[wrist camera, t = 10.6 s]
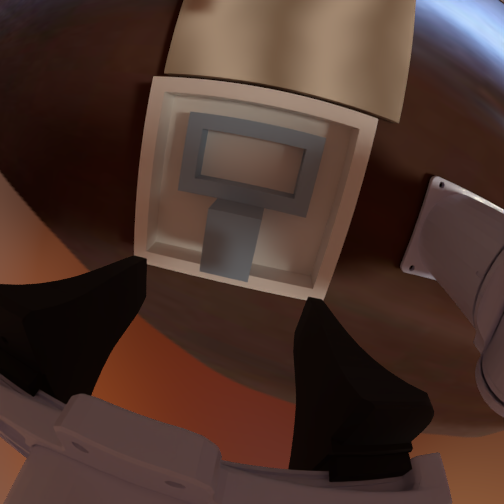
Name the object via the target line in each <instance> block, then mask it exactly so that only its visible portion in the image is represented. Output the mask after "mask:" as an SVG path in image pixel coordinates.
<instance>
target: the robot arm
mask: <svg viewBox="0 0 504 504" xmlns="http://www.w3.org/2000/svg"><path fill="white" fill-rule="evenodd" d="M440 182H442V186H441V187H439V184H440ZM412 265H413V267H412V268H411V269H409V268H410V266H412ZM400 268H401V270H402V271H403V272H406V273H410V274H414V275H418V276H422V277H426V278H430V279H434V280H437V281H438V283H439V284H440V285H441V286H442V287H443V289H444V290H445V291H446V292H447V293H448V295H449V296H450V297H451V298H452V299H453V301H454V302H455V303H456V304H457V306H458V307H459V308H460V309H461V311H462V312H463V313H464V315H465V316H466V317H467V318H468V320H469V321H470V322H471V324H472V325H473V326H474V328H475V329H476V336H475V339H474V342H473V343H474V344H475V346H476V347H477V349H478V350H479V352H480V353H481V356H480V358H479V360H478V362H477V365H476V370H475V377H476V382H477V386H478V389H479V391H480V393H481V395H482V397H483V398H484V400H485V401H486V403H487V404H488V405H489V406H490V407H491V408H492V409H493V410H494V411H495V412H496V413H498V414H499V415H501V416H503V417H504V210H503V209H502V208H500V207H498V206H496V205H495V204H493V203H491V202H489V201H487V200H485V199H484V198H482V197H480V196H478V195H476V194H474V193H472V192H470V191H468V190H466V189H464V188H462V187H460V186H458V185H456V184H454V183H451V182H449V181H447V180H445V179H443V178H441V177H438V176H432V177H431V179H430V182H429V185H428V188H427V192H426V195H425V198H424V201H423V205H422V208H421V211H420V214H419V217H418V220H417V222H416V225H415V228H414V231H413V234H412V236H411V239H410V242H409V244H408V247H407V249H406V252H405V254H404V257H403V259H402V262H401V265H400ZM146 273H147V259H146V258H143V257H139V256H131V257H128V258H125V259H123V260H120V261H117V262H115V263H112V264H110V265H107V266H104V267H102V268H99V269H96V270H93V271H91V272H88V273H85V274H82V275H79V276H75V277H71V278H67V279H63V280H58V281H52V282H46V283H39V284H26V285H8V284H0V437H1V438H3V439H4V440H5V441H6V442H7V443H8V444H10V445H11V446H12V447H13V448H15V449H16V450H17V451H18V452H19V453H21V454H22V455H23V456H25V457H26V458H27V459H26V461H25V463H24V465H23V466H22V468H21V470H20V472H19V474H18V476H17V478H16V480H15V482H14V484H13V485H12V488H11V489H10V491H9V494H8V496H7V498H6V500H5V502H4V504H452V499H451V494H450V490H449V486H448V482H447V478H446V475H445V470H444V467H443V463H442V459H441V456H440V453H432V454H427V455H421V456H416V457H414V458H412V459H410V457H409V454H408V452H411V451H412V449H413V447H412V444H411V441H412V440H413V439H414V438H416V437H417V436H418V435H419V434H420V433H421V432H422V431H423V430H424V429H425V428H426V427H427V426H428V425H429V424H430V422H431V420H432V418H433V416H434V410H433V407H432V404H431V402H430V399H429V397H428V394H427V393H426V392H424V391H422V390H420V389H418V388H416V387H414V386H412V385H410V384H408V383H406V382H405V381H403V380H402V379H400V378H398V377H397V376H395V375H394V374H392V373H391V372H389V371H388V370H387V369H385V368H384V367H383V366H381V365H380V364H379V363H378V362H376V361H375V360H374V359H373V358H372V357H371V356H369V355H368V354H367V353H366V352H365V351H364V350H363V349H362V348H361V347H360V346H359V345H358V344H357V343H356V342H355V341H354V339H353V338H352V337H351V336H350V335H349V334H348V333H347V331H346V330H345V329H344V328H343V327H342V325H341V324H340V323H339V321H338V320H337V319H336V317H335V316H334V315H333V313H332V312H331V311H330V309H329V308H328V307H327V305H326V304H325V303H324V301H323V300H322V299H318V298H313V297H309V296H308V298H307V301H306V304H305V306H304V309H303V312H302V315H301V317H300V320H299V322H298V325H297V328H296V330H295V335H294V350H293V353H294V368H295V383H296V411H295V425H294V435H293V442H292V449H291V457H290V463H289V469H277V468H268V467H260V466H253V465H246V464H240V463H234V462H229V461H223V460H221V458H222V456H221V453H220V450H219V448H218V447H217V446H216V445H215V444H214V443H212V442H211V441H209V440H208V439H207V438H205V437H204V436H202V435H199V434H197V433H194V432H191V431H189V430H186V429H183V428H179V427H176V426H173V425H170V424H166V423H163V422H159V421H157V420H154V419H151V418H148V417H145V416H142V415H139V414H136V413H134V412H131V411H128V410H126V409H123V408H121V407H118V406H116V405H113V404H111V403H108V402H106V401H104V400H101V399H99V398H96V397H93V396H91V395H92V392H93V389H94V387H95V384H96V382H97V380H98V377H99V375H100V373H101V371H102V368H103V367H104V365H105V363H106V361H107V359H108V357H109V355H110V353H111V351H112V350H113V348H114V346H115V345H116V343H117V342H118V340H119V339H120V338H121V336H122V335H123V333H124V332H125V331H126V329H127V328H128V326H129V325H130V323H131V322H132V321H133V319H134V318H135V316H136V315H137V313H138V312H139V310H140V308H141V306H142V304H143V302H144V300H145V298H146Z"/></svg>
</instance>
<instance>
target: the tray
mask: <svg viewBox="0 0 504 504" xmlns="http://www.w3.org/2000/svg"><path fill="white" fill-rule="evenodd" d="M190 111H191V112H199V113H207V114H214V115H221V116H227V117H233V118H239V119H245V120H250V121H256V122H261V123H266V124H270V125H275V126H280V127H284V128H289V129H293V130H297V131H301V132H305V133H309V134H313V135H317V136H320V137H324V138H326V141H325V146H324V150H323V154H322V158H321V162H320V166H319V170H318V174H317V178H316V182H315V185H314V189H313V193H312V197H311V201H310V204H309V208H308V212H307V215H306V218H304V217H300V216H296V215H292V214H287V213H283V212H279V211H275V210H270V209H266V208H264V211H263V216H262V221H261V225H260V230H259V234H258V239H257V243H256V248H255V252H254V256H253V261H252V265H251V270H250V274H249V278H248V282H244V281H239V280H235V279H230V278H226V277H222V276H217V275H213V274H209V273H205V272H200V271H199V270H200V262H201V255H202V248H203V241H204V234H205V227H206V220H207V214H208V208H209V207H210V206H211V205H212V204H213V203H214V202H215V201H216V199H217V198H214V197H209V196H204V195H199V194H194V193H189V192H183V191H178V185H179V177H180V170H181V164H182V157H183V151H184V144H185V138H186V133H187V127H188V121H189V116H190ZM377 122H378V119H377V118H374V117H371V116H369V115H366V114H363V113H360V112H357V111H354V110H351V109H347V108H344V107H341V106H338V105H334V104H331V103H327V102H324V101H320V100H316V99H312V98H308V97H304V96H300V95H296V94H292V93H287V92H282V91H278V90H273V89H268V88H262V87H257V86H251V85H244V84H238V83H231V82H223V81H215V80H205V79H194V78H180V77H157V76H153V81H152V86H151V91H150V96H149V101H148V107H147V113H146V119H145V125H144V132H143V139H142V147H141V155H140V163H139V173H138V184H137V196H136V211H135V233H134V256H139V257H143V258H146V259H147V264H149V265H153V266H157V267H161V268H165V269H169V270H173V271H177V272H181V273H185V274H190V275H194V276H198V277H202V278H206V279H211V280H215V281H219V282H224V283H228V284H232V285H237V286H241V287H246V288H250V289H255V290H259V291H264V292H269V293H273V294H278V295H283V296H288V297H293V298H298V299H302V300H307V298H308V296H309V297H313V298H318V299H322V300H324V297H325V294H326V292H327V289H328V286H329V284H330V281H331V278H332V275H333V273H334V270H335V267H336V264H337V261H338V259H339V256H340V253H341V250H342V247H343V244H344V241H345V238H346V235H347V232H348V229H349V226H350V222H351V219H352V216H353V213H354V209H355V206H356V203H357V199H358V196H359V193H360V189H361V186H362V182H363V178H364V175H365V171H366V167H367V164H368V160H369V156H370V152H371V148H372V144H373V140H374V135H375V131H376V127H377ZM303 152H304V149H303V148H299V147H294V146H290V145H286V144H282V143H277V142H273V141H268V140H263V139H258V138H253V137H248V136H243V135H238V134H232V133H226V132H220V131H214V130H208V135H207V140H206V146H205V152H204V157H203V163H202V169H201V175H205V176H211V177H216V178H221V179H226V180H231V181H236V182H241V183H246V184H251V185H255V186H260V187H264V188H269V189H273V190H278V191H282V192H286V193H290V194H293V193H294V189H295V185H296V181H297V177H298V173H299V169H300V165H301V160H302V156H303Z"/></svg>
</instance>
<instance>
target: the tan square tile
mask: <svg viewBox="0 0 504 504" xmlns="http://www.w3.org/2000/svg"><path fill="white" fill-rule="evenodd" d="M415 3H416V0H184V1H183V4H182V7H181V10H180V13H179V17H178V20H177V23H176V27H175V30H174V34H173V38H172V41H171V45H170V49H169V53H168V57H167V61H166V66H165V70H164V73H165V74H167V75H170V76H188V77H200V78H211V79H220V80H228V81H235V82H242V83H248V84H254V85H260V86H266V87H271V88H276V89H281V90H285V91H290V92H294V93H299V94H303V95H307V96H311V97H315V98H319V99H322V100H326V101H329V102H333V103H336V104H340V105H343V106H346V107H349V108H353V109H356V110H359V111H362V112H365V113H367V114H370V115H373V116H376V117H379V118H381V119H384V120H387V121H389V122H392V123H399V120H400V115H401V110H402V105H403V100H404V95H405V89H406V83H407V77H408V71H409V64H410V57H411V49H412V40H413V30H414V19H415Z"/></svg>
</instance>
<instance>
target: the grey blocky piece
mask: <svg viewBox="0 0 504 504" xmlns="http://www.w3.org/2000/svg"><path fill="white" fill-rule="evenodd" d="M208 130H214V131H220V132H226V133H232V134H238V135H243V136H248V137H253V138H258V139H263V140H268V141H273V142H277V143H282V144H286V145H290V146H294V147H299V148H303V149H304V152H303V156H302V160H301V165H300V169H299V173H298V177H297V181H296V185H295V189H294V193H293V194H290V193H286V192H282V191H278V190H273V189H269V188H264V187H260V186H255V185H251V184H246V183H241V182H236V181H231V180H226V179H221V178H216V177H211V176H205V175H201V169H202V163H203V157H204V152H205V146H206V140H207V135H208ZM325 141H326V138H324V137H320V136H317V135H313V134H309V133H305V132H301V131H297V130H293V129H289V128H284V127H280V126H275V125H270V124H266V123H261V122H256V121H250V120H245V119H239V118H233V117H227V116H221V115H214V114H207V113H199V112H191V111H190V116H189V121H188V127H187V133H186V138H185V144H184V151H183V157H182V164H181V170H180V177H179V185H178V191H183V192H189V193H194V194H199V195H204V196H209V197H214V198H217V199H216V201H215V202H214V203H213V204H212V205H211V206H210V207H209V208H208V214H207V220H206V227H205V234H204V241H203V248H202V255H201V262H200V270H199V271H200V272H205V273H209V274H213V275H217V276H222V277H226V278H230V279H235V280H239V281H244V282H248V278H249V274H250V270H251V265H252V261H253V256H254V252H255V248H256V243H257V239H258V234H259V230H260V225H261V221H262V216H263V211H264V208H266V209H270V210H275V211H279V212H283V213H287V214H292V215H296V216H300V217H304V218H306V215H307V212H308V208H309V204H310V201H311V197H312V193H313V189H314V185H315V182H316V178H317V174H318V170H319V166H320V162H321V158H322V154H323V150H324V146H325Z"/></svg>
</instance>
